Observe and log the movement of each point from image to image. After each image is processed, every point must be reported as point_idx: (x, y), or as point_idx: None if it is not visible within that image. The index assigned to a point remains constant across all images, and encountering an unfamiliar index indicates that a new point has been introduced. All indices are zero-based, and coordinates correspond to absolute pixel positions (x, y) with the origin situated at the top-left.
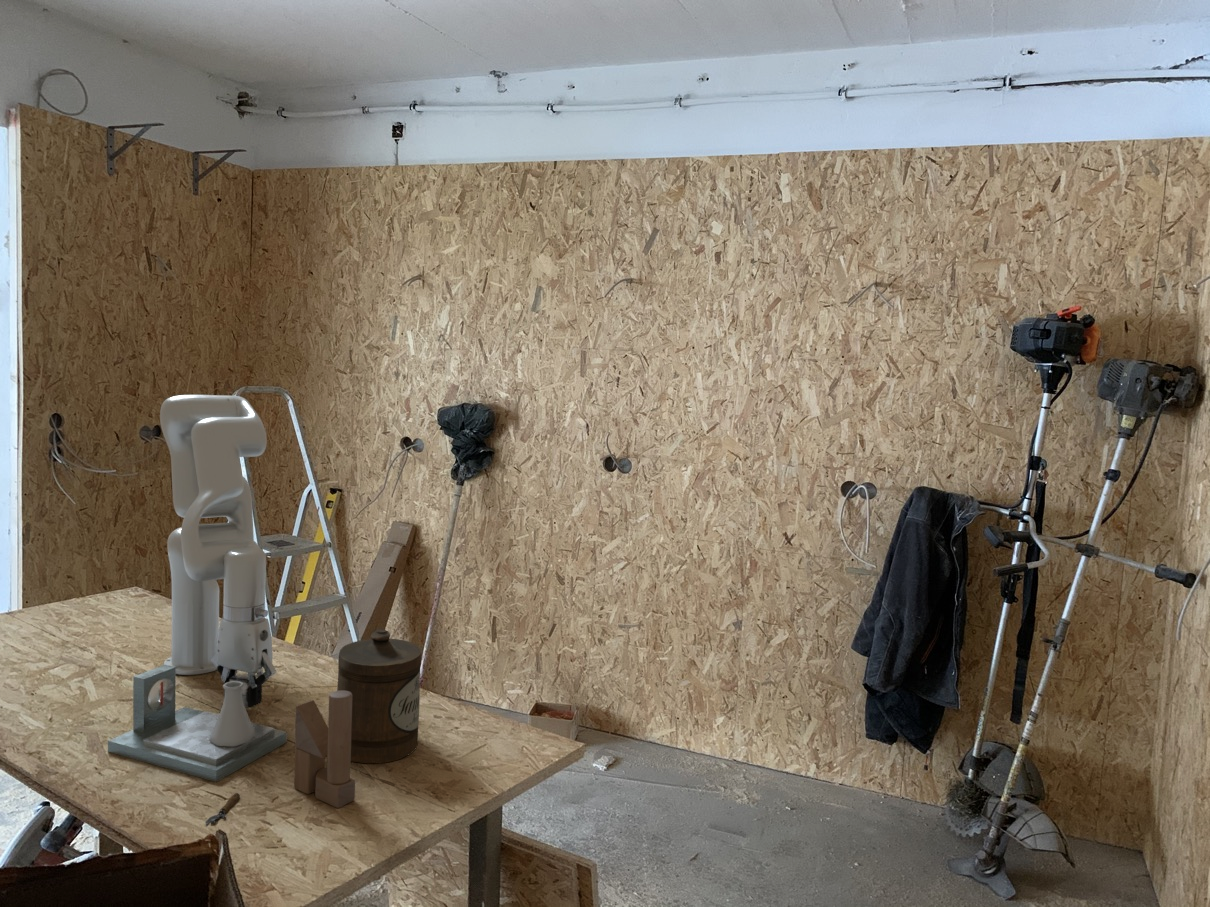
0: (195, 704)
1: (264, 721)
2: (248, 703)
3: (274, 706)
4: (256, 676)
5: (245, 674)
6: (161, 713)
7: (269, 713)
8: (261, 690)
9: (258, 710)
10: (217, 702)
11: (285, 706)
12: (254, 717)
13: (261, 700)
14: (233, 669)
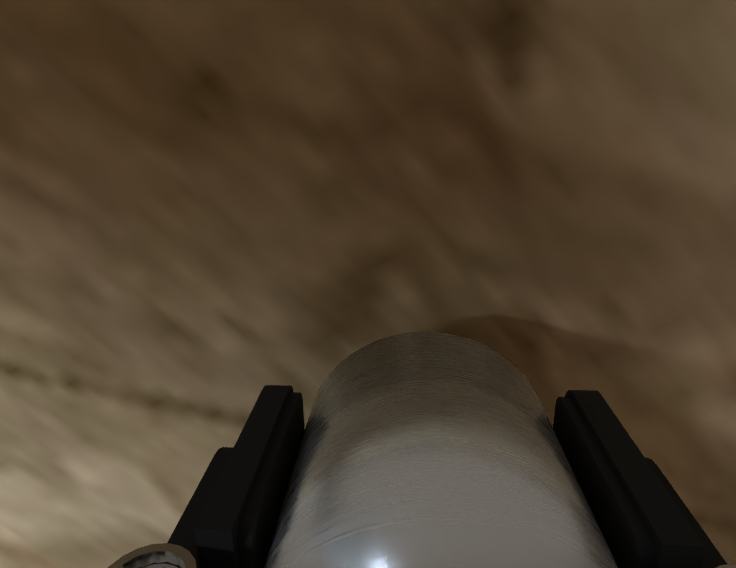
0: (15, 420)
1: (677, 437)
2: None
3: (571, 168)
4: (576, 560)
5: (340, 564)
6: None
7: (623, 308)
8: (702, 538)
9: (498, 301)
10: (101, 326)
11: (670, 115)
12: None
13: (601, 398)
14: None
